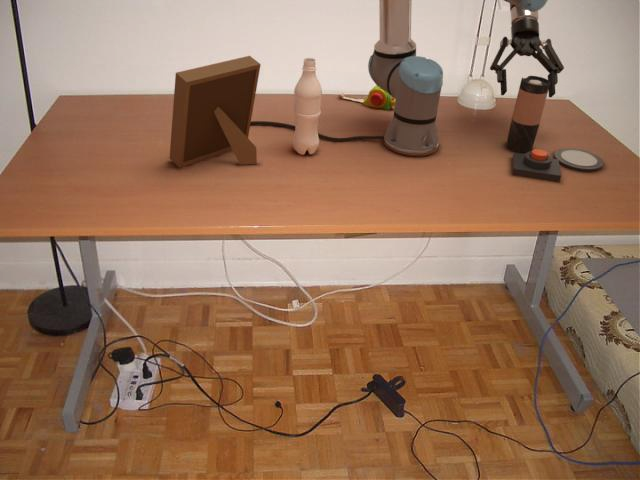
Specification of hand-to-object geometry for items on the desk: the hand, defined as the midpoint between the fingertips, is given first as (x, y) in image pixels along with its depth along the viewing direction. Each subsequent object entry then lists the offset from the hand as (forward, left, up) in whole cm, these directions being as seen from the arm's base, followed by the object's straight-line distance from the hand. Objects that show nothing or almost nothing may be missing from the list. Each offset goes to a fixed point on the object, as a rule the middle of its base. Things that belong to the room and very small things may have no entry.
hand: (528, 94), depth 177 cm
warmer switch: (+5, -16, -15) cm, 22 cm away
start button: (+5, -16, -11) cm, 20 cm away
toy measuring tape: (-46, +14, -15) cm, 51 cm away
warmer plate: (+17, -6, -15) cm, 23 cm away
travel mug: (+1, -3, -15) cm, 15 cm away
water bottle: (-56, -26, -15) cm, 64 cm away
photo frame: (-75, -39, -15) cm, 86 cm away
